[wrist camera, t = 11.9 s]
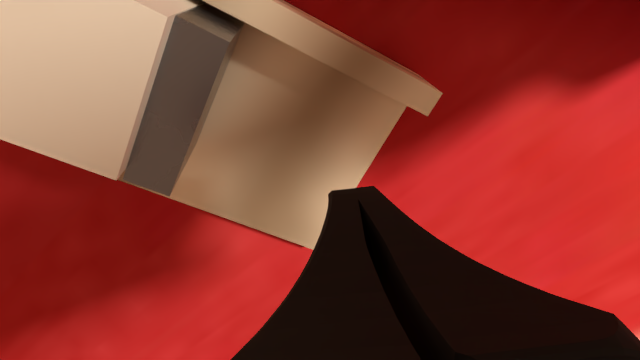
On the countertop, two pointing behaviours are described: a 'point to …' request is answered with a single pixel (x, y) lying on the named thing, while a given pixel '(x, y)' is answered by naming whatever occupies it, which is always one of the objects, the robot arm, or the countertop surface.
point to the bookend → (181, 96)
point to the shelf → (293, 121)
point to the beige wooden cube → (81, 75)
